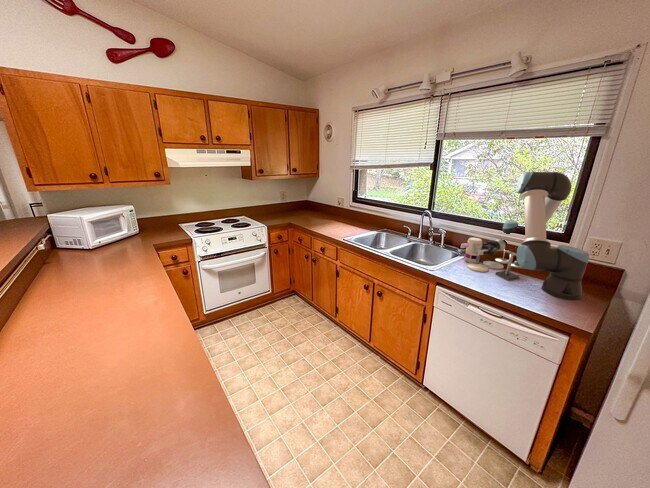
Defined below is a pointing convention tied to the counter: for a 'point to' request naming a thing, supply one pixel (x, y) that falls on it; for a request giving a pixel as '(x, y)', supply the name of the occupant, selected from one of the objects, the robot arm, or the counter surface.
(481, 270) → the cream dish
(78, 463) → the counter surface
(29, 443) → the counter surface
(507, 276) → the balance
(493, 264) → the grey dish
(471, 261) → the supplement can
